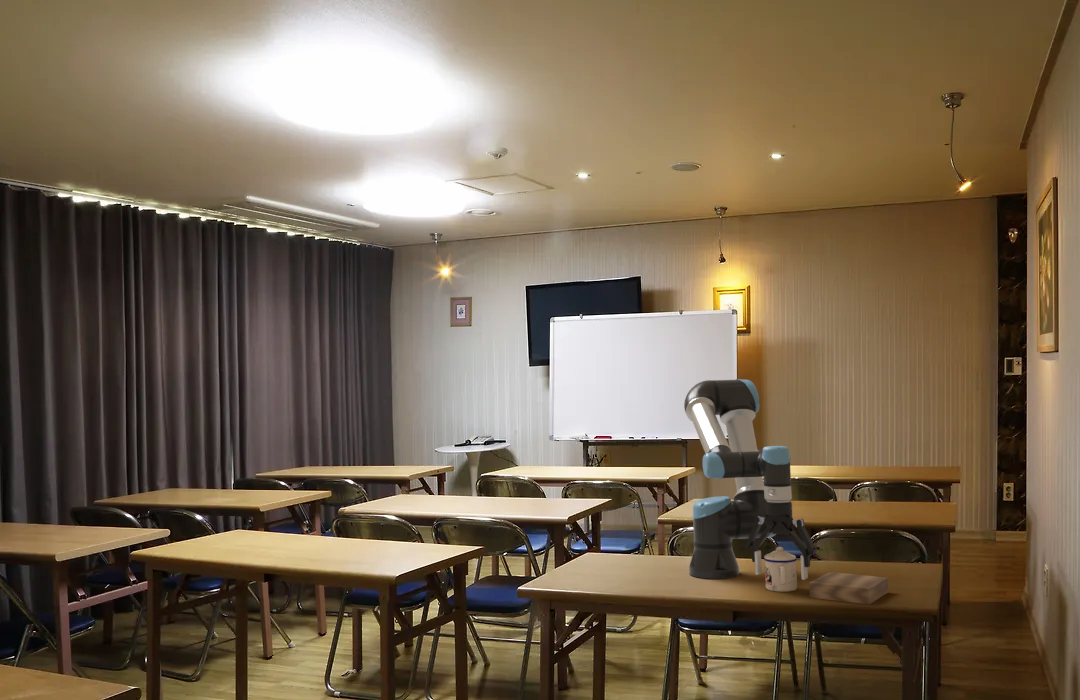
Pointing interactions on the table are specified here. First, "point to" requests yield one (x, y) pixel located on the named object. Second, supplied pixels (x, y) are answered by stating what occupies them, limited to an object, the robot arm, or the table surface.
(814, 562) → the table surface
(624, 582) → the table surface
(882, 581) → the wooden square block
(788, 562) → the teacup with lid
